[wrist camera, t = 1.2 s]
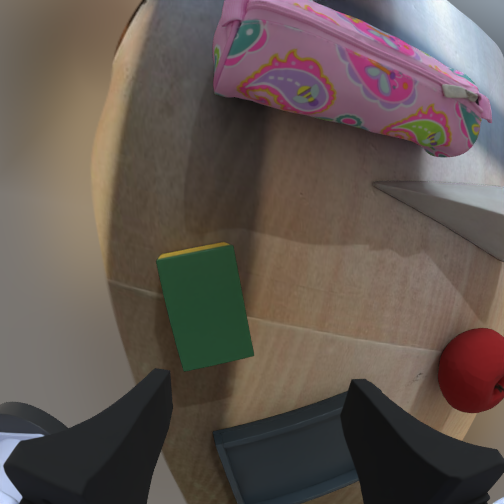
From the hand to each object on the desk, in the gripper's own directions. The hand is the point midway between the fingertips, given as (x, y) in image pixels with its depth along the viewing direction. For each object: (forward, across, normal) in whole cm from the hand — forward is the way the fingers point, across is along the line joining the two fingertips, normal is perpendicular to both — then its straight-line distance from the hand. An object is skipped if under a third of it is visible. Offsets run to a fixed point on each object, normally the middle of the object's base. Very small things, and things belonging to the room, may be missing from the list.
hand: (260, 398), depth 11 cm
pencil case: (+16, -6, -16) cm, 23 cm away
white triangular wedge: (+17, -21, -6) cm, 27 cm away
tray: (+10, -6, +16) cm, 20 cm away
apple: (+15, -23, +8) cm, 29 cm away
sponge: (+11, +4, 0) cm, 11 cm away
